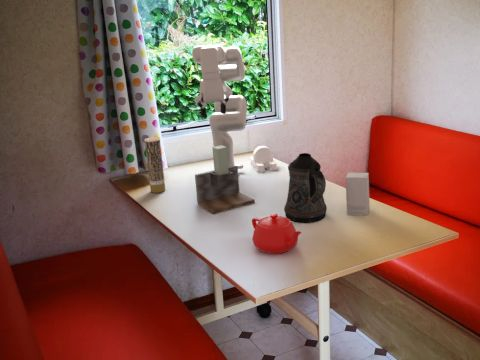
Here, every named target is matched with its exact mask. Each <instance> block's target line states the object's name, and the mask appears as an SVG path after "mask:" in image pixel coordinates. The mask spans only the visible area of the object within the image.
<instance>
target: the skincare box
mask: <svg viewBox="0 0 480 360" xmlns="http://www.w3.org/2000/svg"><path fill="white" fill-rule="evenodd" d="M369 174H370V173H369V172H351V171H349V172H347V174H346V176H345V196H346V197H345V198H346V215H351V216H354V215H355V216H368V215H369V211H370V179H369V178H370V177H369Z"/></svg>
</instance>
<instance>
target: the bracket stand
mask: <svg viewBox="0 0 480 360" xmlns="http://www.w3.org/2000/svg"><path fill="white" fill-rule="evenodd" d="M234 165H235V166H231V167H228V170H229V173H228V174H223V175H219V176H218V175H216V174H215V172H214V169H213V170H210V171H206V172H202V173H201V172H200V173H196V174H194V180H195V181H194V182H195V189H196V190H195V191H196V201H197V202H196V203H197V206H198V207H201V208H202V209H204V210H206V211H207V212H209V213H210V214H213V215H216V214H218V213H222V212H225V211H230V210H234V209H236V208H240V207H244V206H247V205H252V204H255V203H256V202H255V200H256V199H255V198H252V197H250V196H249V195H246V194H244V193H242V192H240V182H239V169H238V166H236V165H237V164H234Z"/></svg>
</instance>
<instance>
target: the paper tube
mask: <svg viewBox="0 0 480 360" xmlns="http://www.w3.org/2000/svg"><path fill="white" fill-rule="evenodd" d="M144 146H145V154H146V163H147V171H148V179H149V186H150V192H151V193H153V194H159V193H163V192H165V191H166V184H165V176H164V175H165V173H164V165H163V158H162V146H161V139H160V137H159V136H151V137H145V138H144Z"/></svg>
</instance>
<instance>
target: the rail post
mask: <svg viewBox="0 0 480 360" xmlns="http://www.w3.org/2000/svg"><path fill="white" fill-rule="evenodd" d="M211 148H212V157H213V158H212V160H213V170H214V172H215V174H216V175H218V176H219V175H223V174H228V173H229V170H228V157H227V147H225V146H222V145H221V146H216V147H213V146H212V147H211Z"/></svg>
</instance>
